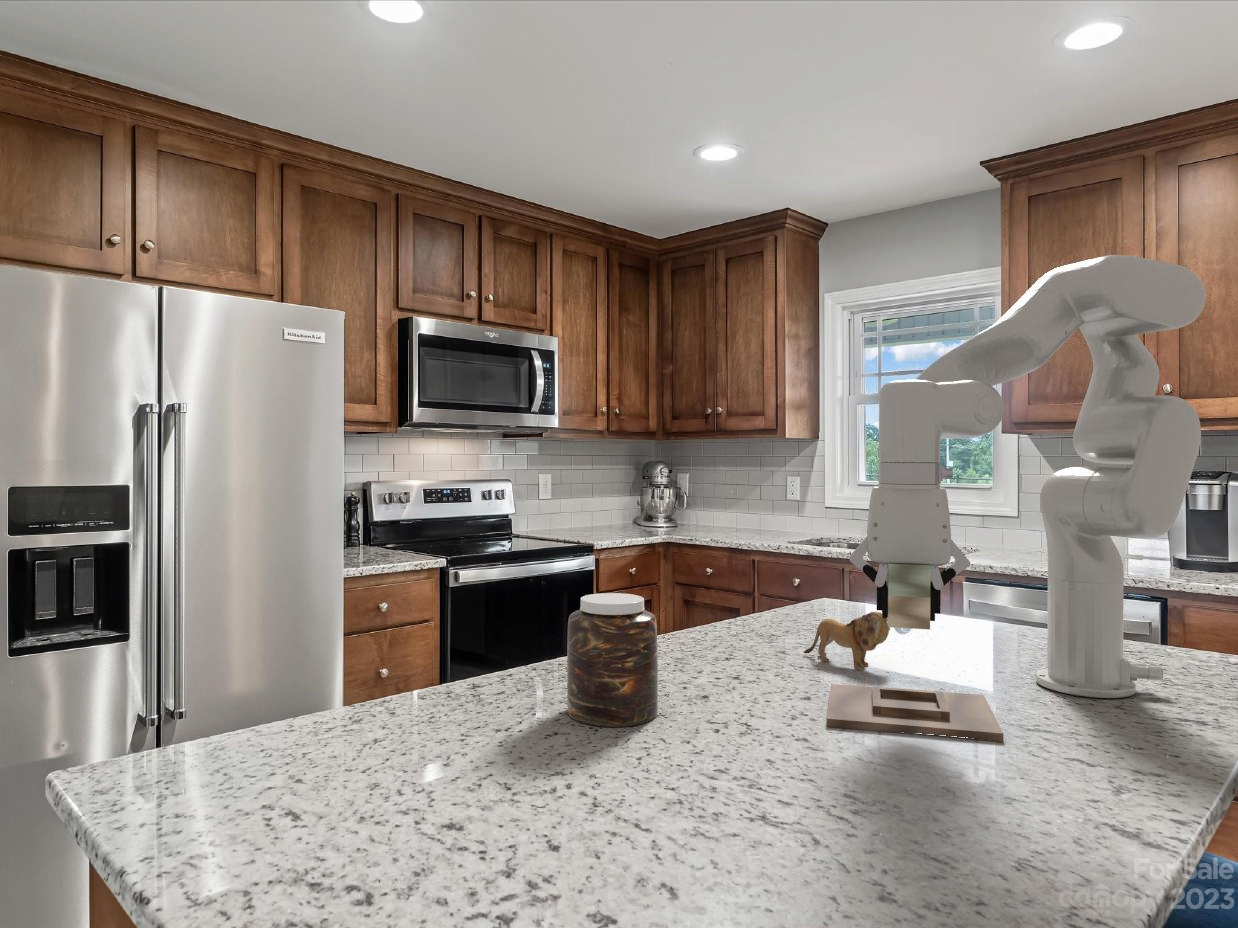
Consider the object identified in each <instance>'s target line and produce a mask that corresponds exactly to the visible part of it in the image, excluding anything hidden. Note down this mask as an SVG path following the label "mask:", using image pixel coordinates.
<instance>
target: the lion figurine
mask: <svg viewBox="0 0 1238 928" xmlns="http://www.w3.org/2000/svg"><path fill="white" fill-rule="evenodd" d="M890 631H891V627H888V623H887V618H882V611H881V612H880V611H871V612H869V613H867V614H863V615H862V616H860V617H857V618H854V619H852V620H851V621H850V622H849V623H847V624H845V623H840V622H839V621H837V620H835V619H832V618H824V619H823V620H822V621H820V623H819V624H818V626H817V629H816V633H815V638H814V640H813V642H812V645H811V647H809V648H807V649H806V650H804V651H803V653H804V654H810V653H811V652H812V651H814V649H815V647H816V645H817V643H818V641H819V640H820V641H819V645H818V650H817V653H818V655H819V656H820V660H821V662H822V663H829V662H830V658H827V657H826V656H827V652H825V651H826V648H827V646H828V645H830V644H831V643H833V642H834V643H835V644H837V646H840V647H842V648H845V649H846V648H848V649H851V651H852V652H851V653H852V660H853V668H854V670H855V671H862V670H863V669H864V668H863V667H869V662H866V661H865V658H866V655H867V651H868V652H869V651H870V652H871V651H873V650H875V649H876V648H877V646H878V645H881V644H884V642H885V641H886V640H887V638H888V636H889V634H890V633H889V632H890Z"/></svg>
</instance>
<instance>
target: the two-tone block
mask: <svg viewBox="0 0 1238 928" xmlns="http://www.w3.org/2000/svg"><path fill="white" fill-rule="evenodd" d="M930 575H931V566H930V565H917V564H891V563H888V574H887V577H886V581H887V586H888V617H887V624H888V627H890V628H898V629H899V628H900V629H912V630H913V629H914V630H929V631H930V630H931V621H930V582H931V579H930Z"/></svg>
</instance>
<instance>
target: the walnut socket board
mask: <svg viewBox="0 0 1238 928" xmlns="http://www.w3.org/2000/svg"><path fill="white" fill-rule="evenodd" d="M829 689H830V690H829V697H828V705H827V714H826V727H827V728H828V727H829V728H836V729H837V728H840V729H848V730H849V729H850V730H860V731H874V732H883V731H888V732H887V733H894V732H904V733H903V734H906V733H922V734H934V735H946V736H957V737H965V738H966V737H968V738H974V739H973V740H975V739H983V740H982V741H986V740H994V741H993V742H999V743H1004V732H1003V730H1002V728H1001V726H1000V724H999V722H998V720H997V717H995V714H994V713H993V711H992V708H991V706H990V704H989V703H988V701H987V699H986V697H985V695H984V694H974V693H960V692H948V691H940V690H939V691H938V690H924V689H911V688H900V687H899V688H897V687H886V686H866V685H865V686H864V685H851V684H838V683H830V688H829Z"/></svg>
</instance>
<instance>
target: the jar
mask: <svg viewBox="0 0 1238 928" xmlns="http://www.w3.org/2000/svg"><path fill="white" fill-rule="evenodd" d="M567 622H568V623H567V642H566V643H567V645H566V648H567V649H566V650H567V653H566V656H567V657H566V658H567V659H566V660H567V661H566V665H567V667H566V669H567V670H566V672H567V673H566V674H567V678H566V679H567V683H566V684H567V685H566V686H567V689H566V691H567V693H566V695H567V696H566V697H567V698H566V699H567V701H566V702H567V714H568V716H569V717H570V719H572V720H575V721H576V722H578V723H582V724H585V725H589V726H590V725H591V726H596V727H602V728H603V727H605V728H606V727H607V728H621V727H633V726H638V725H643V724H646V723H649V722H651V721H653V720H654V719H656V717H657V716H658V708H659V707H658V703H659V702H658V701H659V699H658V697H659V696H658V693H659V692H658V690H659V689H658V687H659V685H658V684H659V683H658V678H659V677H658V675H659V669H658V665H659V663H658V660H659V659H658V658H659V657H658V655H659V654H658V626H657V623H658V622H657V618H656V615H655V614H653V613H652V612H650V611H648V610H646V609H645V598H644V597H643V596H641V595H637V594H632V593H622V592H621V593H620V592H618V593H617V592H603V593H602V592H601V593H593V594H592V593H591V594H585V595H584V596H581V597H580V607H579V610H575V611H573V612H572V613H570V614H569V616H568V621H567Z"/></svg>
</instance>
